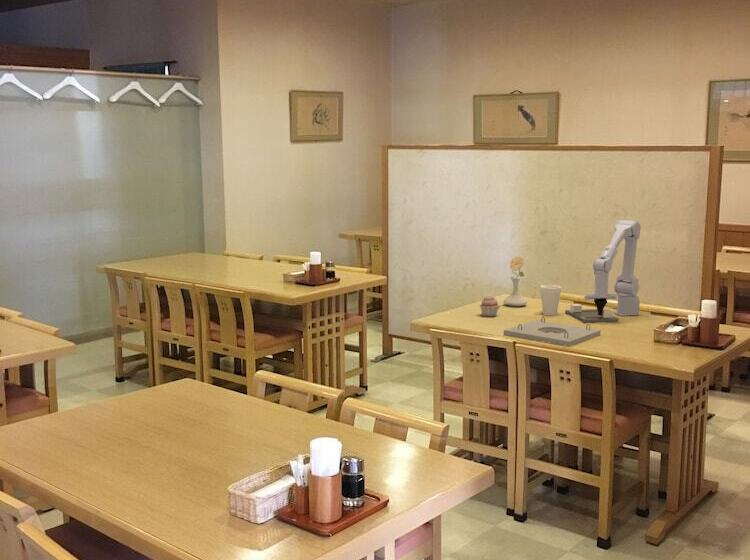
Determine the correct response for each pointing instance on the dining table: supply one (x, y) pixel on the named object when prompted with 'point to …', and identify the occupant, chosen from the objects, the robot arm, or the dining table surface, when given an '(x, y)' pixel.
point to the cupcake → (489, 306)
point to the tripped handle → (606, 313)
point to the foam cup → (550, 299)
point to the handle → (575, 307)
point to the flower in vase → (516, 284)
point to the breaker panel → (590, 316)
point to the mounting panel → (559, 336)
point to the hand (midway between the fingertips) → (599, 315)
